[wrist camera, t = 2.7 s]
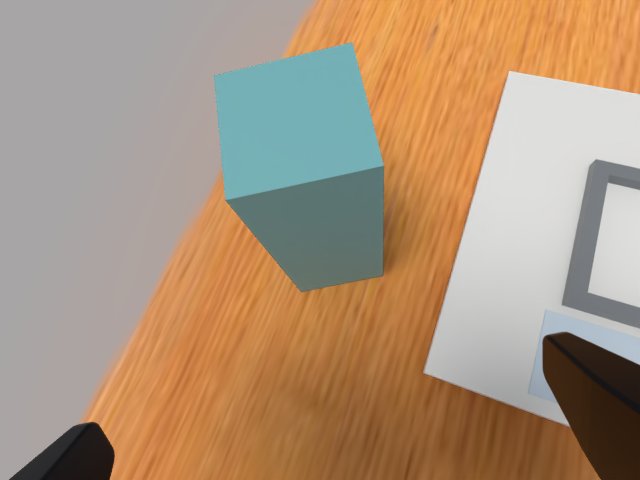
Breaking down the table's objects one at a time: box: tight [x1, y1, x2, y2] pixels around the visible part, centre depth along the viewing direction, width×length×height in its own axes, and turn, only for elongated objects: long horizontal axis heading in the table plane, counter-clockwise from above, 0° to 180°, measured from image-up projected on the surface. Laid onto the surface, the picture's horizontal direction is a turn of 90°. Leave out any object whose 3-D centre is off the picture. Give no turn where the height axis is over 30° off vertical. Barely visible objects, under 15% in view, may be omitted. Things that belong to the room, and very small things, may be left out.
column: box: [214, 43, 384, 292], centre depth 20 cm, size 5×5×13 cm
